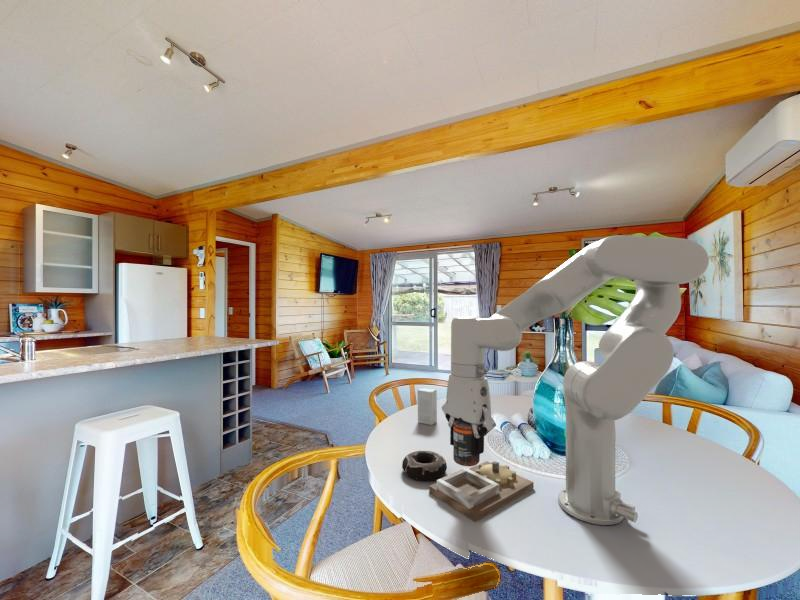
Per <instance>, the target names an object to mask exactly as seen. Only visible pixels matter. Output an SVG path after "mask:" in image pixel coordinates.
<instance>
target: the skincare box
mask: <svg viewBox="0 0 800 600" xmlns="http://www.w3.org/2000/svg"><path fill="white" fill-rule="evenodd" d="M437 391H438V390H437V389H432V388H425V387H422V388H419V389H418V390H417V423H419V424H425V425H430V426H433V425H434V424H436V423H437V422H438V418H437V417H438V416H437V415H438V409H437V407H438V406H437V405H438V404H437V403H438V401H437V400H438V399H437V397H438V396H437V394H438V393H437Z"/></svg>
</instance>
